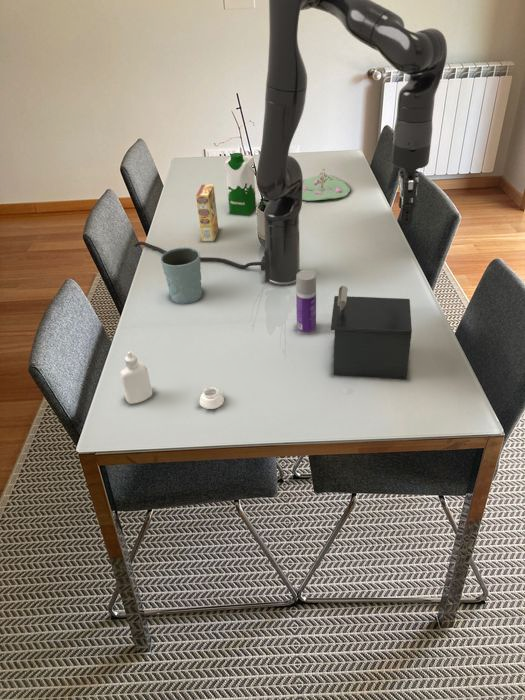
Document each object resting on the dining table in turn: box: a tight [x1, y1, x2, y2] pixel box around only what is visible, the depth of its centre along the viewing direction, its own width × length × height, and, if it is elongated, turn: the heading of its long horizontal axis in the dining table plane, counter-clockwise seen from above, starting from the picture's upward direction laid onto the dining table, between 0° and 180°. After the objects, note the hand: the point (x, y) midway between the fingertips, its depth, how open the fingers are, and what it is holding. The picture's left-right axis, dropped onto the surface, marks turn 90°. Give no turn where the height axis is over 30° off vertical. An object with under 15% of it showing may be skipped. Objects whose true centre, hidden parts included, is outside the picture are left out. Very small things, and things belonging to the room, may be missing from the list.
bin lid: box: [330, 285, 413, 335], centre depth 127 cm, size 16×13×5 cm
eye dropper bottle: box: [119, 351, 153, 405], centre depth 125 cm, size 4×6×12 cm
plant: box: [302, 168, 351, 202], centre depth 216 cm, size 25×21×9 cm
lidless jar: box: [199, 386, 225, 410], centre depth 125 cm, size 5×3×5 cm
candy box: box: [195, 184, 220, 242], centre depth 187 cm, size 9×4×15 cm, turn 174°
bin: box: [332, 330, 412, 380], centre depth 132 cm, size 16×13×12 cm
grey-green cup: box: [160, 246, 203, 305], centre depth 159 cm, size 10×10×12 cm
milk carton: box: [224, 152, 257, 217], centre depth 201 cm, size 9×9×20 cm
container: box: [295, 270, 317, 335], centre depth 142 cm, size 5×5×15 cm
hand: (404, 215), depth 131 cm, fingers open, 8 cm apart
